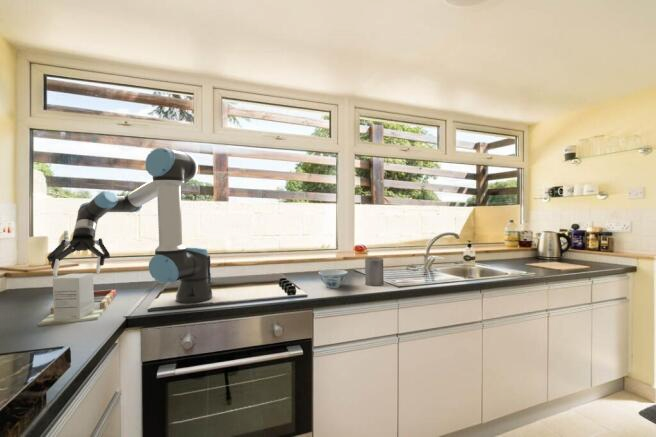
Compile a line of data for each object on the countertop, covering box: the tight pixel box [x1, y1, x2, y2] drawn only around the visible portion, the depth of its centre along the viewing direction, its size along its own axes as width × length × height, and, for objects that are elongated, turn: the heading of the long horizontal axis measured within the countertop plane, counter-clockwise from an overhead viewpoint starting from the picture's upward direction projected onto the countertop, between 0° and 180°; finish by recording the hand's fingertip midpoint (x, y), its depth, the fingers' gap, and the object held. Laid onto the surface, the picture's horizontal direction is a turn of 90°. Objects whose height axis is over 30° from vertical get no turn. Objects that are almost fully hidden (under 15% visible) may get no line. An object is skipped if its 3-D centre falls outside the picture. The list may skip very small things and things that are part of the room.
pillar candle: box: [364, 256, 385, 287], centre depth 174 cm, size 10×10×15 cm
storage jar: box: [208, 254, 212, 285], centre depth 178 cm, size 10×10×15 cm
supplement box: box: [52, 272, 95, 319], centre depth 121 cm, size 9×9×15 cm
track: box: [38, 288, 117, 327], centre depth 134 cm, size 40×17×3 cm, turn 25°
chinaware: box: [318, 268, 349, 289], centre depth 169 cm, size 15×15×8 cm
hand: (76, 273), depth 127 cm, fingers open, 13 cm apart
